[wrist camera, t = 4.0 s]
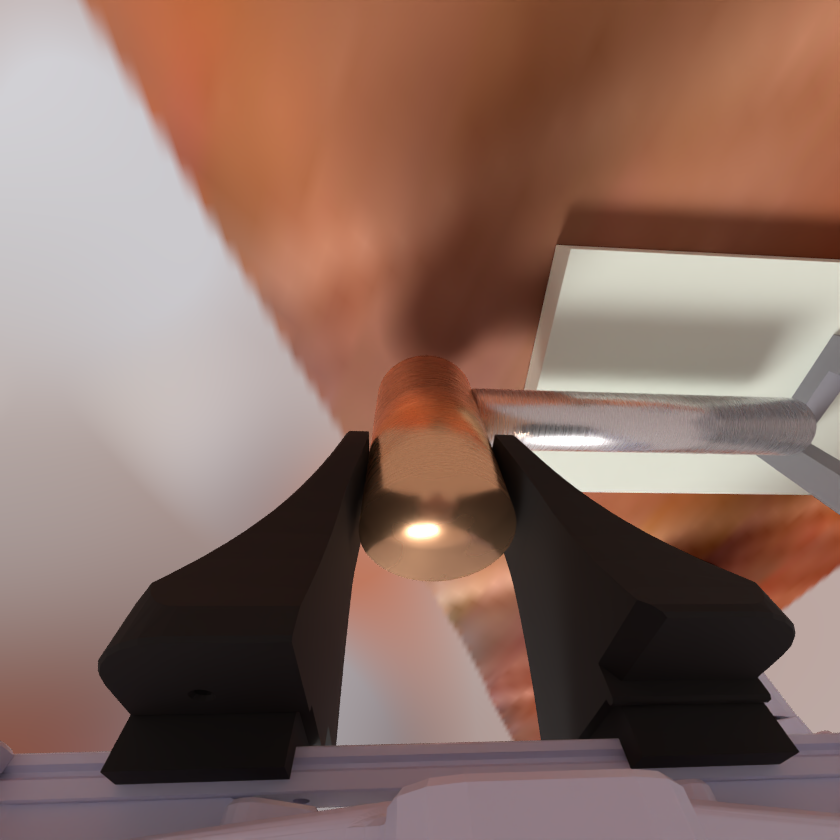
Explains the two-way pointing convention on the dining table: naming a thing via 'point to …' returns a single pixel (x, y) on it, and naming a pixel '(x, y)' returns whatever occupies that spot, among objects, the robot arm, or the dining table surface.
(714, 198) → the dining table surface
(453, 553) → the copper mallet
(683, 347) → the eye stand
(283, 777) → the robot arm
